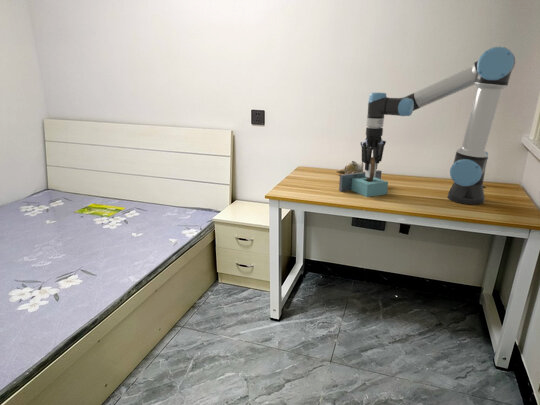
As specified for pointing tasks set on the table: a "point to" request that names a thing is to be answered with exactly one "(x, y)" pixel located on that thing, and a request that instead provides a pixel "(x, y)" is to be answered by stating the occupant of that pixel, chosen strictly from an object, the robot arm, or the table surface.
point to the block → (369, 186)
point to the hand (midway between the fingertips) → (370, 176)
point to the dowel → (371, 170)
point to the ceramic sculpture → (352, 168)
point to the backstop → (346, 179)
